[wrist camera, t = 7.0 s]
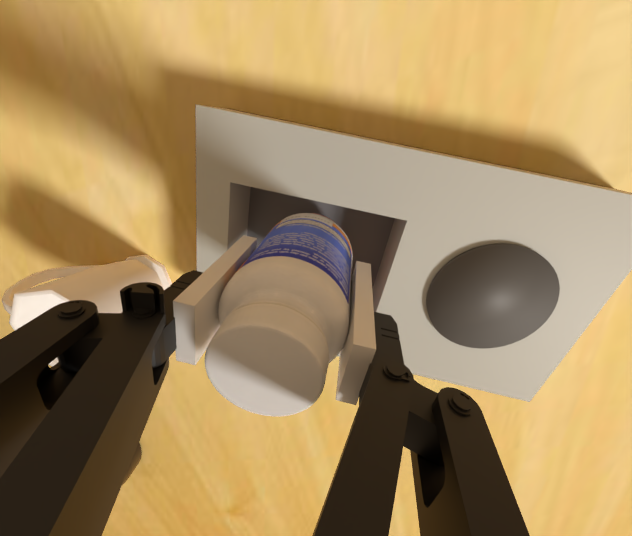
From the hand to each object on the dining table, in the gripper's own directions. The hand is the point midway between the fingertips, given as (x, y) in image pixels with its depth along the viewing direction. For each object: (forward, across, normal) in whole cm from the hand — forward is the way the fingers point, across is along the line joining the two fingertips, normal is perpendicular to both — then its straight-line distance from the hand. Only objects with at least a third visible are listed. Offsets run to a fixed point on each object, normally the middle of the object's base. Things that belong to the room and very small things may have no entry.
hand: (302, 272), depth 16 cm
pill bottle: (+3, 0, 0) cm, 3 cm away
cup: (+6, -15, -7) cm, 18 cm away
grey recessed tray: (+6, +5, 0) cm, 8 cm away
